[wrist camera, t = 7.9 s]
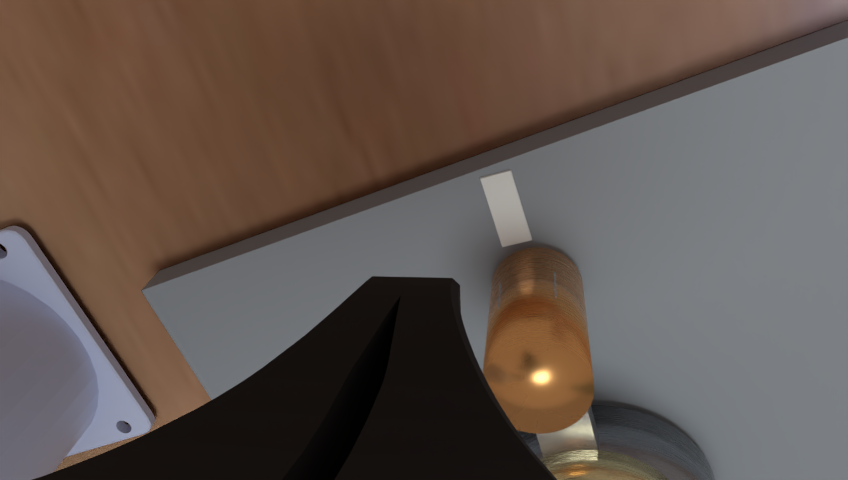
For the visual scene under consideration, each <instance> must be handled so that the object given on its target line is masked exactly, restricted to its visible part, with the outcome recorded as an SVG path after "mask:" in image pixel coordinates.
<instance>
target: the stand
mask: <svg viewBox="0 0 848 480" xmlns="http://www.w3.org/2000/svg"><path fill="white" fill-rule="evenodd" d="M536 247H539V248H547V249H551V250H554V251H557V252H559V253H561V254H563V255H565V256H566V257H567V258H569V259H570V260H571V261H572V262H573V263H574V264H575V266H576V267H577V268H578V270H579V272H580V274H581V277H582V281H583V289H584V298H585V307H586V316H587V325H588V335H589V344H590V353H591V362H592V371H593V380H594V397H593V401H592V404H591V405H605V406H615V407H622V408H627V409H632V410H636V411H639V412H642V413H646V414H649V415H652V416H654V417H656V418H658V419H660V420H663V421H665V422H667V423H668V424H670V425H672V426H673V427H675V428H677V429H678V430H679V431H681V432H682V433H683V434H684V435H686V436H687V437H688V438H690V439H691V441H692V442H693V443H694V444H695V445H696V446H697V447H698V448H699V449H700V450H701V452H702V453H703V455H704V456H705V458H706V459H707V461H708V463H709V465H710V467H711V469H712V471H713V475H714V478H715V480H848V20H847V21H844V22H842V23H839V24H836V25H833V26H831V27H828V28H825V29H822V30H820V31H817V32H814V33H811V34H809V35H806V36H803V37H800V38H798V39H795V40H792V41H789V42H787V43H784V44H781V45H778V46H776V47H773V48H770V49H767V50H765V51H762V52H759V53H756V54H754V55H751V56H748V57H745V58H743V59H740V60H737V61H734V62H732V63H729V64H726V65H723V66H721V67H718V68H715V69H712V70H710V71H707V72H704V73H701V74H699V75H696V76H693V77H690V78H688V79H685V80H682V81H679V82H677V83H674V84H671V85H668V86H666V87H663V88H660V89H657V90H655V91H652V92H649V93H646V94H644V95H641V96H638V97H635V98H633V99H630V100H627V101H624V102H622V103H619V104H616V105H613V106H611V107H608V108H605V109H602V110H600V111H597V112H594V113H592V114H589V115H586V116H583V117H581V118H578V119H575V120H572V121H570V122H567V123H564V124H561V125H559V126H556V127H553V128H550V129H548V130H545V131H542V132H539V133H537V134H534V135H531V136H528V137H526V138H523V139H520V140H517V141H515V142H512V143H509V144H506V145H504V146H501V147H498V148H495V149H493V150H490V151H487V152H484V153H482V154H479V155H476V156H473V157H471V158H468V159H465V160H462V161H460V162H457V163H454V164H451V165H449V166H446V167H443V168H440V169H438V170H435V171H432V172H429V173H427V174H424V175H421V176H418V177H416V178H413V179H410V180H407V181H405V182H402V183H399V184H396V185H394V186H391V187H388V188H385V189H383V190H380V191H377V192H374V193H372V194H369V195H366V196H363V197H361V198H358V199H355V200H352V201H350V202H347V203H344V204H341V205H339V206H336V207H333V208H330V209H328V210H325V211H322V212H319V213H317V214H314V215H311V216H308V217H306V218H303V219H300V220H297V221H295V222H292V223H289V224H286V225H284V226H281V227H278V228H275V229H273V230H270V231H267V232H264V233H262V234H259V235H256V236H253V237H251V238H248V239H245V240H242V241H240V242H237V243H234V244H232V245H229V246H226V247H223V248H221V249H218V250H215V251H212V252H210V253H207V254H204V255H201V256H199V257H196V258H193V259H190V260H188V261H185V262H182V263H179V264H177V265H174V266H171V267H168V268H166V269H163V270H160V271H158V272H157V274H156V275H155V276H154V277H153V278H152V279H151V280H150V281H149V282H148V284H147V285H146V286H145V287H144V288H143V289H142V290H141V291H142V293H143V294H144V296H145V297H146V299H147V300H148V302H149V304H150V305H151V307H152V308H153V310H154V311H155V313H156V314H157V316H158V318H159V319H160V321H161V322H162V324H163V325H164V327H165V328H166V330H167V331H168V333H169V335H170V336H171V338H172V339H173V341H174V342H175V344H176V345H177V347H178V349H179V350H180V352H181V353H182V355H183V356H184V358H185V359H186V361H187V363H188V364H189V366H190V367H191V369H192V370H193V372H194V373H195V375H196V376H197V378H198V380H199V381H200V383H201V384H202V386H203V387H204V389H205V390H206V392H207V394H208V395H209V397H210V398H211V400H213V399H215V398H216V397H218V396H219V395H221V394H223V393H224V392H226V391H228V390H229V389H231V388H233V387H234V386H236V385H237V384H239V383H241V382H242V381H244V380H245V379H247V378H248V377H250V376H251V375H253V374H254V373H255V372H257V371H258V370H260V369H261V368H263V367H264V366H265V365H267V364H268V363H269V362H271V361H272V360H273V359H274V358H276V357H277V356H278V355H280V354H281V353H282V352H284V351H285V350H286V349H288V348H289V347H290V346H292V345H293V344H294V343H295V342H297V341H298V340H299V339H301V338H302V337H303V336H305V335H306V334H307V333H308V332H309V331H310V330H312V329H313V328H314V327H315V326H316V325H317V324H319V323H320V322H321V321H322V320H323V319H324V318H326V317H327V316H328V315H329V314H330V313H331V312H332V311H334V310H335V309H336V308H337V307H338V306H339V305H340V304H341V303H342V302H344V301H345V300H346V299H347V298H348V297H349V296H350V295H351V294H352V293H354V292H355V291H356V290H357V289H358V288H359V287H360V286H361V285H362V284H364V283H365V282H366V281H367V280H368V279H369V278H371V277H372V276H384V277H432V278H453V279H454V280H455V281H456V282H457V283H458V284H459V285H460V301H461V316H462V320H463V324H464V327H465V331H466V333H467V336H468V339H469V341H470V344H471V347H472V349H473V352H474V355H475V357H476V359H477V362H478V364H479V366H480V368H481V370H482V372H483V364H484V354H485V344H486V334H487V324H488V314H489V305H490V295H491V285H492V279H493V275H494V273H495V271H496V269H497V267H498V266H499V264H500V263H501V262H502V261H503V260H504V259H505V258H507V257H508V256H509V255H511V254H513V253H514V252H517V251H519V250H523V249H526V248H536Z"/></svg>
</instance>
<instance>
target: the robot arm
mask: <svg viewBox="0 0 848 480" xmlns="http://www.w3.org/2000/svg"><path fill="white" fill-rule="evenodd" d="M0 244H2V245H3V246H4V247H5V248H6V250H7V252H5V251H3V250H2V249H1V248H0V480H557V479H556V478H555V477H554V475H553V474H552V473H551V472H550V471H549V470H548V469H547V467H546V466H545V465H544V464H543V463H542V462H541V460H540V459H539V458H538V457H537V456H536V455H535V454H534V452H533V451H532V450H531V449H530V448H529V446H528V445H527V444H526V442H525V441H524V440H523V438H522V437H521V435H520V434H519V433H518V431H517V430H516V428H515V427H514V426H513V424H512V423H511V421H510V420H509V418H508V417H507V415H506V413H505V412H504V410H503V409H502V407H501V406H500V404H499V402H498V401H497V399H496V397H495V395H494V394H493V392H492V390H491V388H490V386H489V384H488V382H487V380H486V378H485V376H484V374H483V372H482V370H481V368H480V366H479V364H478V362H477V359H476V357H475V355H474V352H473V349H472V347H471V344H470V341H469V339H468V336H467V333H466V331H465V327H464V324H463V320H462V316H461V301H460V285H459V284H458V283H457V282H456V281H455V280H454V279H453V278H432V277H384V276H372V277H371V278H369V279H368V280H367V281H366V282H365V283H364V284H362V285H361V286H360V287H359V288H358V289H357V290H356V291H355V292H354V293H352V294H351V295H350V296H349V297H348V298H347V299H346V300H345V301H344V302H342V303H341V304H340V305H339V306H338V307H337V308H336V309H335V310H334V311H332V312H331V313H330V314H329V315H328V316H327V317H326V318H324V319H323V320H322V321H321V322H320V323H319V324H317V325H316V326H315V327H314V328H313V329H312V330H310V331H309V332H308V333H307V334H306V335H305V336H303V337H302V338H301V339H299V340H298V341H297V342H295V343H294V344H293V345H292V346H290V347H289V348H288V349H286V350H285V351H284V352H282V353H281V354H280V355H278V356H277V357H276V358H274V359H273V360H272V361H271V362H269V363H268V364H267V365H265V366H264V367H263V368H261V369H260V370H258V371H257V372H255V373H254V374H253V375H251V376H250V377H248V378H247V379H245V380H244V381H242V382H241V383H239V384H237V385H236V386H234V387H233V388H231V389H229V390H228V391H226V392H224V393H223V394H221V395H219V396H218V397H216V398H215V399H213V400H211V401H210V402H208V403H206V404H204V405H203V406H201V407H199V408H197V409H195V410H193V411H191V412H189V413H188V414H186V415H184V416H182V417H180V418H178V419H176V420H174V421H172V422H170V423H168V424H166V425H164V426H162V427H160V428H158V429H156V430H154V431H152V432H150V433H148V434H146V435H144V436H142V437H140V438H138V439H135V440H133V441H131V442H129V443H126V444H124V445H122V446H119V447H117V448H115V449H112V450H110V451H108V452H105V453H103V454H100V455H98V456H95V457H93V458H90V459H88V460H85V461H82V462H80V463H77V464H75V465H72V466H70V467H67V468H64V469H61V470H59V471H56V472H54V471H55V470H56V468H57V467H58V466H59V465H60V463H61V462H62V461H63V459H64V458H65V457H67V456H71V455H74V454H77V453H81V452H84V451H88V450H91V449H94V448H98V447H101V446H105V445H108V444H111V443H115V442H118V441H122V440H125V439H128V438H132V437H135V436H139V435H142V434H145V433H147V432H149V430H150V429H151V427H152V426H153V424H154V422H155V417H154V415H153V413H152V411H151V410H150V408H149V407H148V405H147V404H146V403H145V401H144V400H143V398H142V397H141V395H140V394H139V392H138V391H137V389H136V388H135V386H134V385H133V384H132V382H131V381H130V379H129V378H128V376H127V375H126V373H125V372H124V370H123V369H122V368H121V366H120V365H119V363H118V362H117V360H116V359H115V357H114V356H113V354H112V353H111V351H110V350H109V349H108V347H107V346H106V344H105V343H104V341H103V340H102V338H101V337H100V335H99V334H98V332H97V331H96V330H95V328H94V327H93V325H92V324H91V322H90V321H89V319H88V318H87V316H86V315H85V314H84V312H83V311H82V309H81V308H80V306H79V305H78V303H77V302H76V300H75V299H74V297H73V296H72V295H71V293H70V292H69V290H68V289H67V287H66V286H65V284H64V283H63V281H62V280H61V278H60V277H59V276H58V274H57V273H56V271H55V270H54V268H53V267H52V265H51V264H50V262H49V261H48V260H47V258H46V257H45V255H44V254H43V252H42V251H41V249H40V248H39V246H38V245H37V243H36V242H35V241H34V239H33V238H32V236H31V235H30V234H29V233H28V232H27V231H26V230H25V229H23V228H21V227H18V226H9V227H6V228H4V229H2V230H0ZM123 421H125V422H127V423H129V424H130V425H127V424H125V423H124V422H123Z"/></svg>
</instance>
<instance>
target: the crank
mask: <svg viewBox="0 0 848 480" xmlns="http://www.w3.org/2000/svg"><path fill="white" fill-rule="evenodd" d="M483 374H484V376H485V378H486V380H487V382H488V384H489V386H490V388H491V390H492V392H493V394H494V395H495V397H496V399H497V401H498V402H499V404H500V406H501V407H502V409H503V410H504V412H505V413H506V415H507V417H508V418H509V420H510V421H511V423H512V424H513V426H514V427H515V428H516V430H517V431H518V433H519V434H520V435H521V437H522V438H523V440H524V441H525V442H526V444H527V445H528V446H529V448H530V449H531V450H532V451H533V452H534V454H535V455H536V456H537V457H538V458H539V459H540V460H541V462H542V463H543V464H544V465H545V466H546V467H547V469H548V470H549V471H550V472H551V473H552V474H553V475H554V477H555V478H556V479H557V480H715V478H714V475H713V471H712V469H711V467H710V465H709V463H708V461H707V459H706V458H705V456H704V455H703V453H702V452H701V450H700V449H699V448H698V447H697V446H696V445H695V444H694V443H693V442H692V441H691V439H690V438H688V437H687V436H686V435H684V434H683V433H682V432H681V431H679V430H678V429H677V428H675V427H673V426H672V425H670V424H668V423H667V422H665V421H663V420H660V419H658V418H656V417H654V416H652V415H649V414H646V413H642V412H639V411H636V410H632V409H627V408H622V407H615V406H605V405H591V404H592V401H593V397H594V380H593V371H592V362H591V353H590V344H589V335H588V325H587V316H586V307H585V298H584V289H583V281H582V277H581V274H580V272H579V270H578V268H577V267H576V266H575V264H574V263H573V262H572V261H571V260H570V259H569V258H567V257H566V256H565V255H563V254H561V253H559V252H557V251H554V250H551V249H547V248H539V247H536V248H526V249H523V250H519V251H517V252H514V253H513V254H511V255H509V256H508V257H507V258H505V259H504V260H503V261H502V262H501V263H500V264H499V266H498V267H497V269H496V271H495V273H494V275H493V279H492V285H491V295H490V305H489V314H488V324H487V334H486V344H485V354H484V364H483Z"/></svg>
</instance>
